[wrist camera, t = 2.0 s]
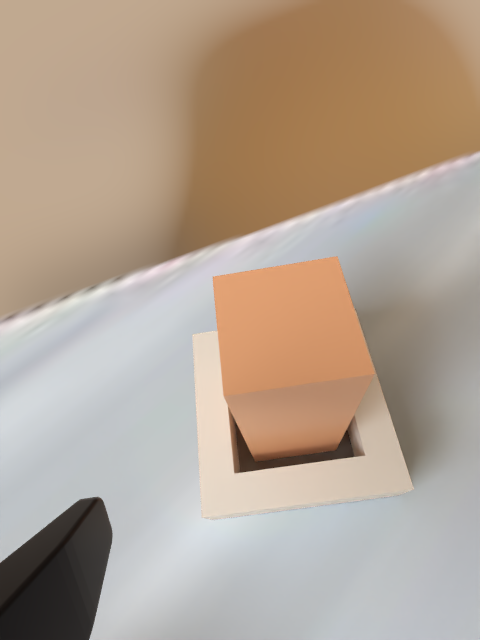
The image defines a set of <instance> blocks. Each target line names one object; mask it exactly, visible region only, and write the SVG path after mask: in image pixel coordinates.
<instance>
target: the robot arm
mask: <svg viewBox="0 0 480 640" xmlns="http://www.w3.org/2000/svg"><path fill="white" fill-rule="evenodd" d="M111 544H112V528H111V524H110V521H109V518H108V515H107V511H106V508H105V505H104V502H103V500H102V499H101V498H99V497H92V498H85V499H81V500H79V501H77V502H76V503H75V504H73V505H72V506H71V507H70V508H68V509H67V510H66V511H65V512H63V513H62V514H61V515H60V516H58V517H57V518H56V519H55V520H53V521H52V522H51V523H50V524H48V525H47V526H46V527H45V528H43V529H42V530H41V531H40V532H38V533H37V534H36V535H35V536H33V537H32V538H31V539H30V540H28V541H27V542H26V543H25V544H23V545H22V546H21V547H20V548H18V549H17V550H16V551H15V552H13V553H12V554H11V555H10V556H8V557H7V558H6V559H5V560H3V561H2V562H1V563H0V640H89V638H90V635H91V631H92V628H93V624H94V620H95V616H96V612H97V608H98V603H99V598H100V594H101V589H102V585H103V580H104V576H105V571H106V567H107V562H108V558H109V553H110V549H111Z"/></svg>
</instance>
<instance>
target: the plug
mask: <svg viewBox="0 0 480 640" xmlns="http://www.w3.org/2000/svg"><path fill="white" fill-rule="evenodd" d="M213 287H214V297H215V308H216V319H217V330H218V341H219V352H220V363H221V374H222V385H223V396H224V398H225V400H226V402H227V404H228V407H229V409H230V411H231V413H232V415H233V417H234V419H235V421H236V423H237V425H238V427H239V429H240V431H241V433H242V435H243V437H244V440H245V442H246V444H247V446H248V448H249V450H250V452H251V454H252V456H253V458H254V460H255V462H257V461H264V460H272V459H279V458H286V457H293V456H300V455H307V454H315V453H322V452H329V451H336V449H337V447H338V445H339V443H340V441H341V439H342V437H343V436H344V434H345V432H346V430H347V428H348V426H349V424H350V422H351V420H352V418H353V416H354V414H355V412H356V410H357V408H358V406H359V404H360V402H361V400H362V398H363V396H364V394H365V392H366V391H367V389H368V387H369V385H370V383H371V381H372V379H373V377H374V375H375V372H374V369H373V366H372V363H371V360H370V356H369V353H368V350H367V347H366V344H365V341H364V338H363V335H362V332H361V328H360V325H359V322H358V319H357V316H356V313H355V310H354V307H353V304H352V300H351V297H350V294H349V291H348V288H347V285H346V282H345V279H344V276H343V272H342V269H341V266H340V263H339V260H338V257H330V258H324V259H318V260H312V261H306V262H300V263H294V264H288V265H282V266H276V267H269V268H263V269H257V270H251V271H245V272H239V273H233V274H227V275H221V276H215V277H213Z"/></svg>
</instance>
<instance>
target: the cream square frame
mask: <svg viewBox="0 0 480 640" xmlns="http://www.w3.org/2000/svg"><path fill="white" fill-rule="evenodd" d="M354 310H355V313H356V316H357V319H358V322H359V325H360V328H361V332H362V335H363V338H364V341H365V344H366V347H367V350H368V353H369V356H370V360H371V363H372V366H373V369H374V372H375V375H374V377H373V379H372V381H371V383H370V385H369V387H368V389H367V391H366V392H365V394H364V396H363V398H362V400H361V402H360V404H359V406H358V408H357V410H356V412H355V414H354V416H353V418H352V420H351V422H350V424H349V426H348V428H347V430H348V434H349V438H350V441H351V445H352V449H353V453H354V457H351V458H343V459H336V460H329V461H322V462H314V463H307V464H300V465H293V466H286V467H278V468H271V469H264V470H257V471H250V472H242V473H240V466H239V456H238V447H237V437H236V427H235V419H234V417H233V415H232V413H231V411H230V409H229V407H228V404H227V402H226V400H225V398H224V396H223V385H222V374H221V363H220V352H219V341H218V330H217V331H211V332H205V333H198V334H192V335H193V354H194V374H195V394H196V413H197V433H198V453H199V472H200V492H201V512H202V518H206V519H210V520H218V519H225V518H233V517H240V516H248V515H255V514H263V513H270V512H278V511H285V510H293V509H300V508H308V507H315V506H323V505H330V504H338V503H345V502H353V501H360V500H368V499H375V498H383V497H391V496H398V495H401V494H403V493H406V492H409V491H411V490H414V488H413V484H412V481H411V478H410V475H409V472H408V469H407V466H406V463H405V460H404V457H403V454H402V450H401V447H400V444H399V441H398V438H397V435H396V432H395V429H394V426H393V423H392V420H391V417H390V413H389V410H388V407H387V404H386V401H385V398H384V395H383V392H382V389H381V386H380V383H379V379H378V376H377V373H376V370H375V367H374V364H373V361H372V358H371V355H370V352H369V349H368V345H367V342H366V339H365V336H364V333H363V330H362V327H361V324H360V321H359V318H358V315H357V312H356V309H354Z"/></svg>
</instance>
